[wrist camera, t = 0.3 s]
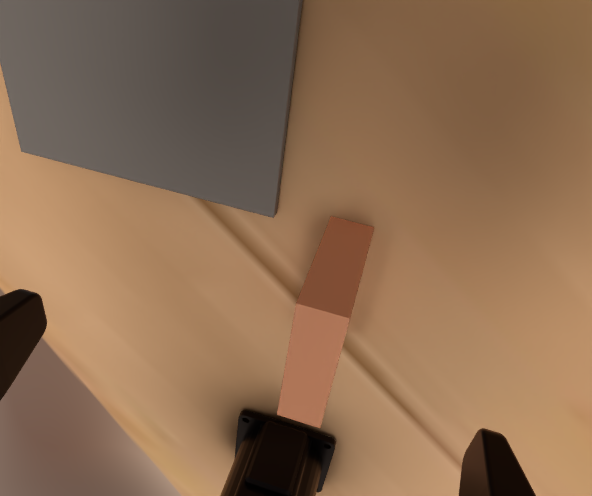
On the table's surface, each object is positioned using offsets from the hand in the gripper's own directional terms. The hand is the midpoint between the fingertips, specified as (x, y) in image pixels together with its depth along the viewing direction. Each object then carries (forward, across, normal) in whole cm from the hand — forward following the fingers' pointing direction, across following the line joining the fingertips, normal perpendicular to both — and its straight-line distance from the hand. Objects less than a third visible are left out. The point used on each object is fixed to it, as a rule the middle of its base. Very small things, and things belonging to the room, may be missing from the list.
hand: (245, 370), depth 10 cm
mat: (+13, +9, -1) cm, 16 cm away
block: (+13, -1, +8) cm, 15 cm away
